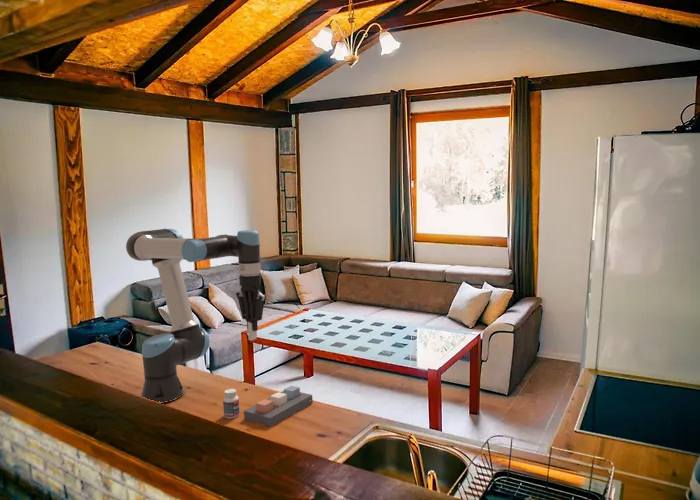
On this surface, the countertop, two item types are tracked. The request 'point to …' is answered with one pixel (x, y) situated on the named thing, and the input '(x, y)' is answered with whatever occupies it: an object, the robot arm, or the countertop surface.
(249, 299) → the robot arm
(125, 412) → the countertop surface
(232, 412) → the pill bottle
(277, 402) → the white key
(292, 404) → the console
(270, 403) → the terracotta key
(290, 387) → the slate key
